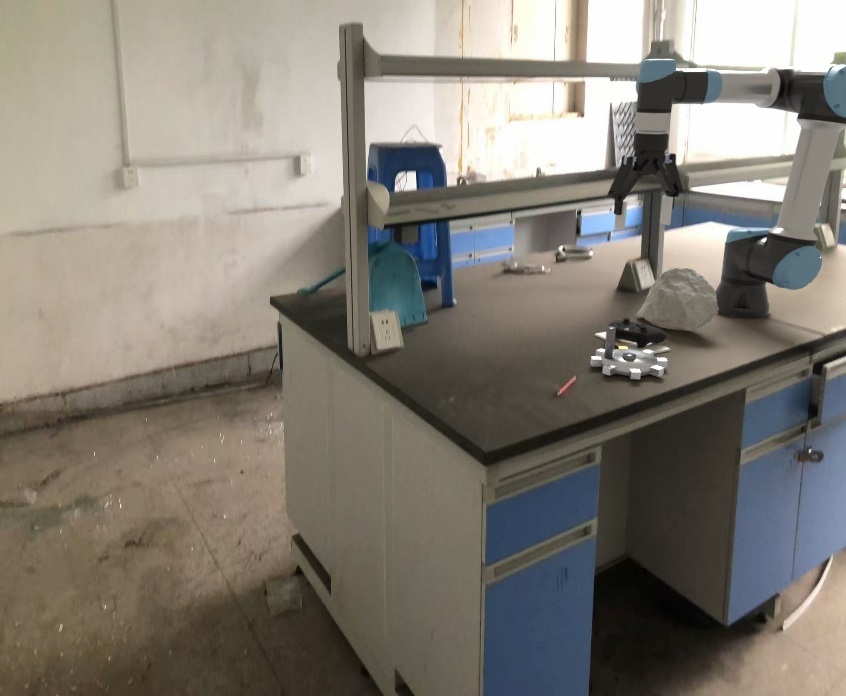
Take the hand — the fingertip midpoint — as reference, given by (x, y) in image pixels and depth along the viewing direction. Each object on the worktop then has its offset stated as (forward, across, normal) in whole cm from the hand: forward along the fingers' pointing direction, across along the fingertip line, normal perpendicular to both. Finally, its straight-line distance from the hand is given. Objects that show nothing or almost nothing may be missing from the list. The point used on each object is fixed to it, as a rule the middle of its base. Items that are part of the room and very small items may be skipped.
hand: (642, 226), depth 184 cm
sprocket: (+29, +12, +13) cm, 34 cm away
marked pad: (+29, 0, 0) cm, 29 cm away
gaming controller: (+28, 0, 0) cm, 28 cm away
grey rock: (+29, -18, -5) cm, 34 cm away
